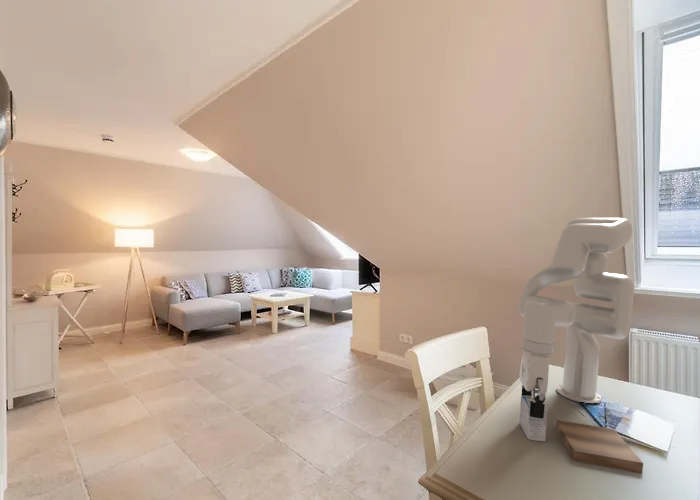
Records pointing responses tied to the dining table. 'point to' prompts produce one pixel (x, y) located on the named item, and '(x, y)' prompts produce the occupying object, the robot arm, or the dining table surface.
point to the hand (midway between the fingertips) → (531, 408)
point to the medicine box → (532, 421)
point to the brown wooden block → (598, 446)
